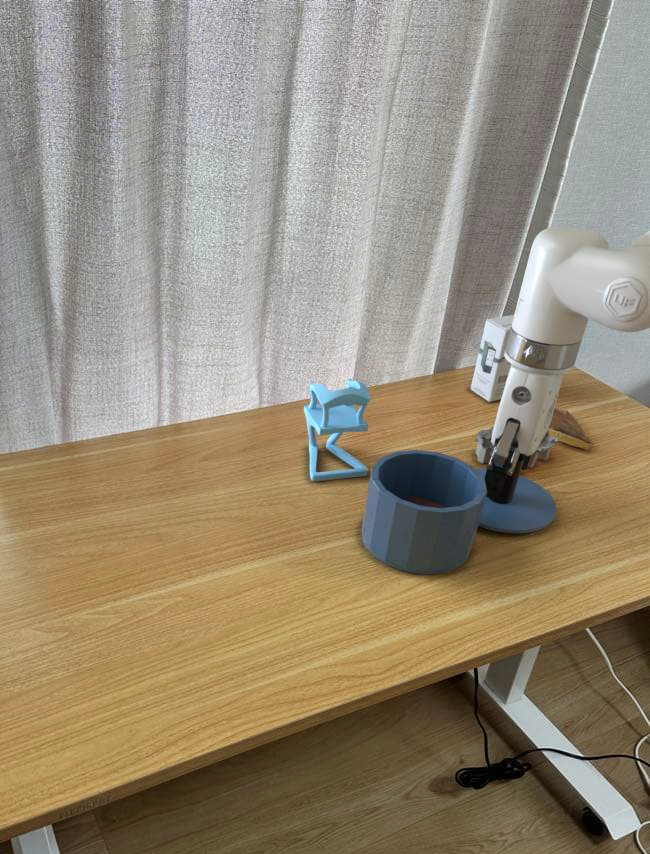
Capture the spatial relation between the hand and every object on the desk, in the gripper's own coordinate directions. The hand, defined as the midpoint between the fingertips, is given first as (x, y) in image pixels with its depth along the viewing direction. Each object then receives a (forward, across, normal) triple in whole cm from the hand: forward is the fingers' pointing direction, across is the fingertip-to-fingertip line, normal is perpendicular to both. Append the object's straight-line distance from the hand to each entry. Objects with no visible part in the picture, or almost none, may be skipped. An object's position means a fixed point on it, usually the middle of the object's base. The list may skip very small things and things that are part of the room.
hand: (504, 481), depth 99 cm
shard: (+4, +25, -2) cm, 25 cm away
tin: (+4, -13, +6) cm, 15 cm away
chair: (+4, -3, +22) cm, 23 cm away
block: (+3, -13, +6) cm, 15 cm away
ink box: (+4, +32, +9) cm, 33 cm away
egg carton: (+4, +13, +2) cm, 14 cm away
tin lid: (+3, 0, 0) cm, 3 cm away
